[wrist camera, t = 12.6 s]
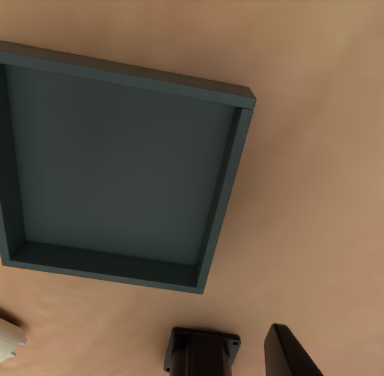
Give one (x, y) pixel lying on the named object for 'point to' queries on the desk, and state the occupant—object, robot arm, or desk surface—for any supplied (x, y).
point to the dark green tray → (115, 167)
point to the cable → (9, 339)
